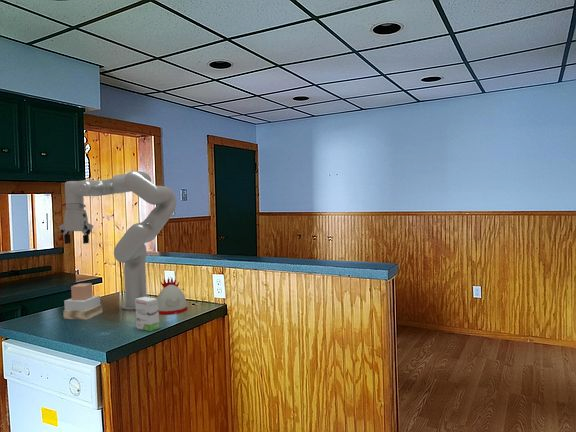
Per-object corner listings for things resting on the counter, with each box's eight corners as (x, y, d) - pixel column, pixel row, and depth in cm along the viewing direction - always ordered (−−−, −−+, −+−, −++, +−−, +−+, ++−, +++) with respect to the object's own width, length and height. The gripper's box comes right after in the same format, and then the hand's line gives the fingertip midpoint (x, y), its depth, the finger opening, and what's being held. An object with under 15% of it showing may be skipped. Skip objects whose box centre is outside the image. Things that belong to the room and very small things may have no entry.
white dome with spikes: (154, 308, 193) (152, 276, 192) (184, 305, 198) (183, 273, 197) (157, 316, 180) (155, 282, 179) (189, 312, 185) (188, 278, 185)
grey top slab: (100, 304, 188) (99, 296, 188) (84, 310, 179) (84, 301, 178) (81, 303, 191) (80, 295, 191) (64, 309, 181) (64, 300, 181)
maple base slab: (102, 313, 189) (102, 304, 189) (86, 320, 178) (86, 311, 178) (80, 312, 191) (80, 303, 191) (63, 319, 180) (63, 310, 180)
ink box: (160, 328, 164) (158, 298, 163) (149, 331, 160) (148, 301, 159) (146, 324, 169) (145, 295, 168) (135, 328, 165) (134, 298, 164)
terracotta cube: (92, 296, 187) (91, 283, 187) (85, 300, 181) (84, 286, 181) (79, 296, 187) (79, 283, 187) (71, 300, 182) (71, 286, 181)
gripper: (96, 206, 200) (98, 242, 201) (64, 207, 203) (66, 242, 204) (86, 207, 193) (88, 244, 194) (52, 208, 196) (54, 244, 197)
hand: (76, 243), depth 199 cm, fingers open, 9 cm apart
